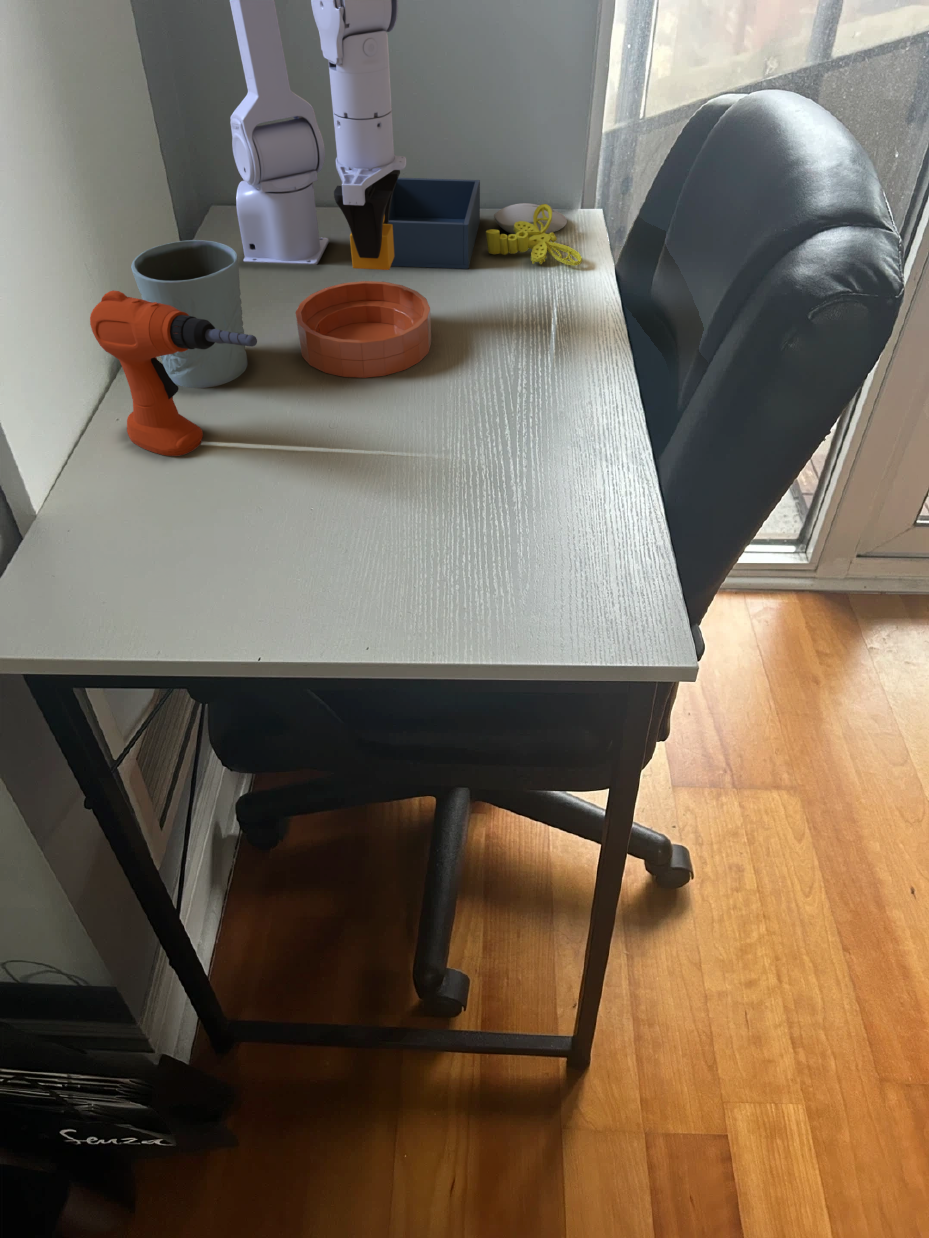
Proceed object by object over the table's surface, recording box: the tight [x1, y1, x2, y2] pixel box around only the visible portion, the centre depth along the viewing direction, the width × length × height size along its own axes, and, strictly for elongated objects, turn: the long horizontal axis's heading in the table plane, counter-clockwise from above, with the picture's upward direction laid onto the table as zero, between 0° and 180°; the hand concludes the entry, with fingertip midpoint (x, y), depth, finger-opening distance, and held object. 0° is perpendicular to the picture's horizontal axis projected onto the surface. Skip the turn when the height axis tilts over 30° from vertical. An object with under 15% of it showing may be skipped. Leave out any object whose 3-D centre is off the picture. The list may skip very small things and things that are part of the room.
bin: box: [388, 177, 481, 270], centre depth 122 cm, size 12×15×6 cm
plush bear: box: [349, 214, 394, 271], centre depth 100 cm, size 4×3×7 cm
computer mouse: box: [493, 202, 568, 234], centre depth 126 cm, size 6×10×3 cm, turn 104°
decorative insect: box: [485, 203, 583, 267], centre depth 119 cm, size 13×3×10 cm
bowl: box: [294, 280, 432, 379], centre depth 102 cm, size 14×14×4 cm
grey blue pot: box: [130, 239, 248, 389], centre depth 96 cm, size 10×10×12 cm
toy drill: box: [89, 289, 258, 457], centre depth 84 cm, size 5×19×15 cm, turn 62°
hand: (372, 249), depth 101 cm, fingers closed on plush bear, 3 cm apart
